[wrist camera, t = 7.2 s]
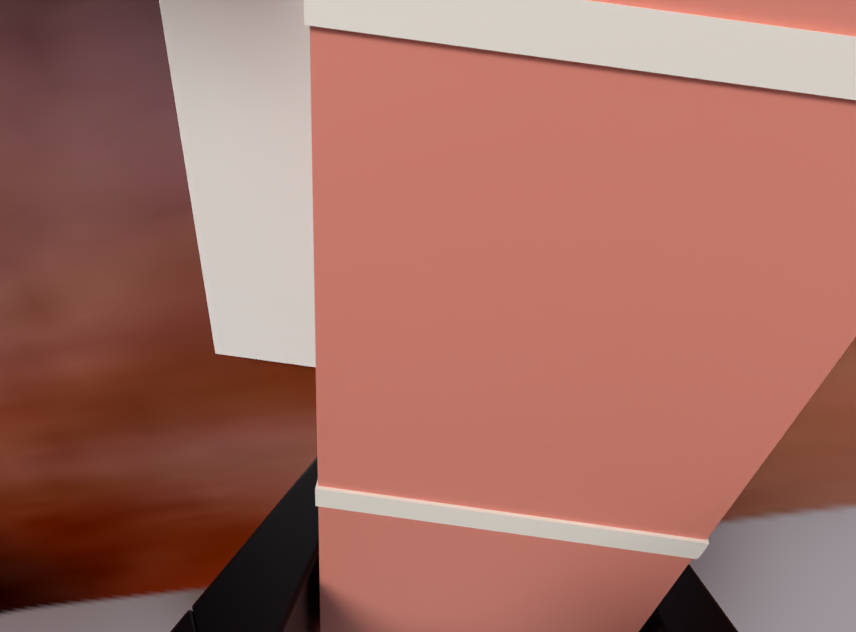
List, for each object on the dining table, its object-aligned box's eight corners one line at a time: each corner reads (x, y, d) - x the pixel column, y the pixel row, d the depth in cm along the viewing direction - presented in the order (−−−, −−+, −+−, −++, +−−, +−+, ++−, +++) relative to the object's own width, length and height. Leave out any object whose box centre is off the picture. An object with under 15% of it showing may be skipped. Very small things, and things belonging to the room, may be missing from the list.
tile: (719, 405, 14) (727, 423, 13) (224, 337, 14) (215, 353, 13) (1161, -332, 6) (1214, -349, 6) (109, -472, 6) (78, -501, 6)
